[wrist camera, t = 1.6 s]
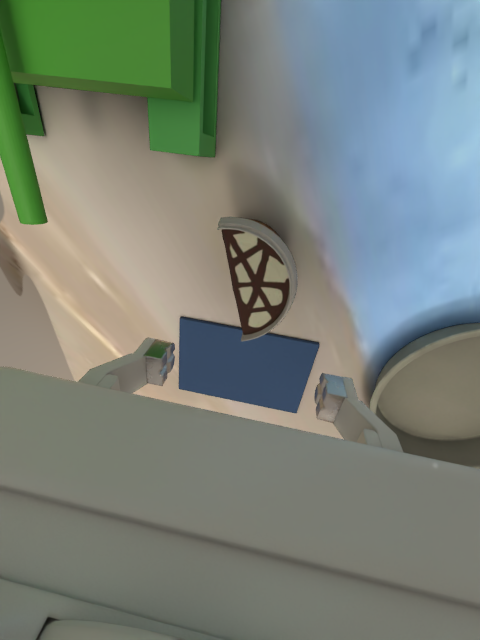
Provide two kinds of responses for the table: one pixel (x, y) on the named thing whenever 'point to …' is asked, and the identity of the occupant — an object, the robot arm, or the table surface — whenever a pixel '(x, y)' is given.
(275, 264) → the food container
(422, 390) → the cake pan
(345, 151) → the table surface
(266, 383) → the mat
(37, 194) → the tank
